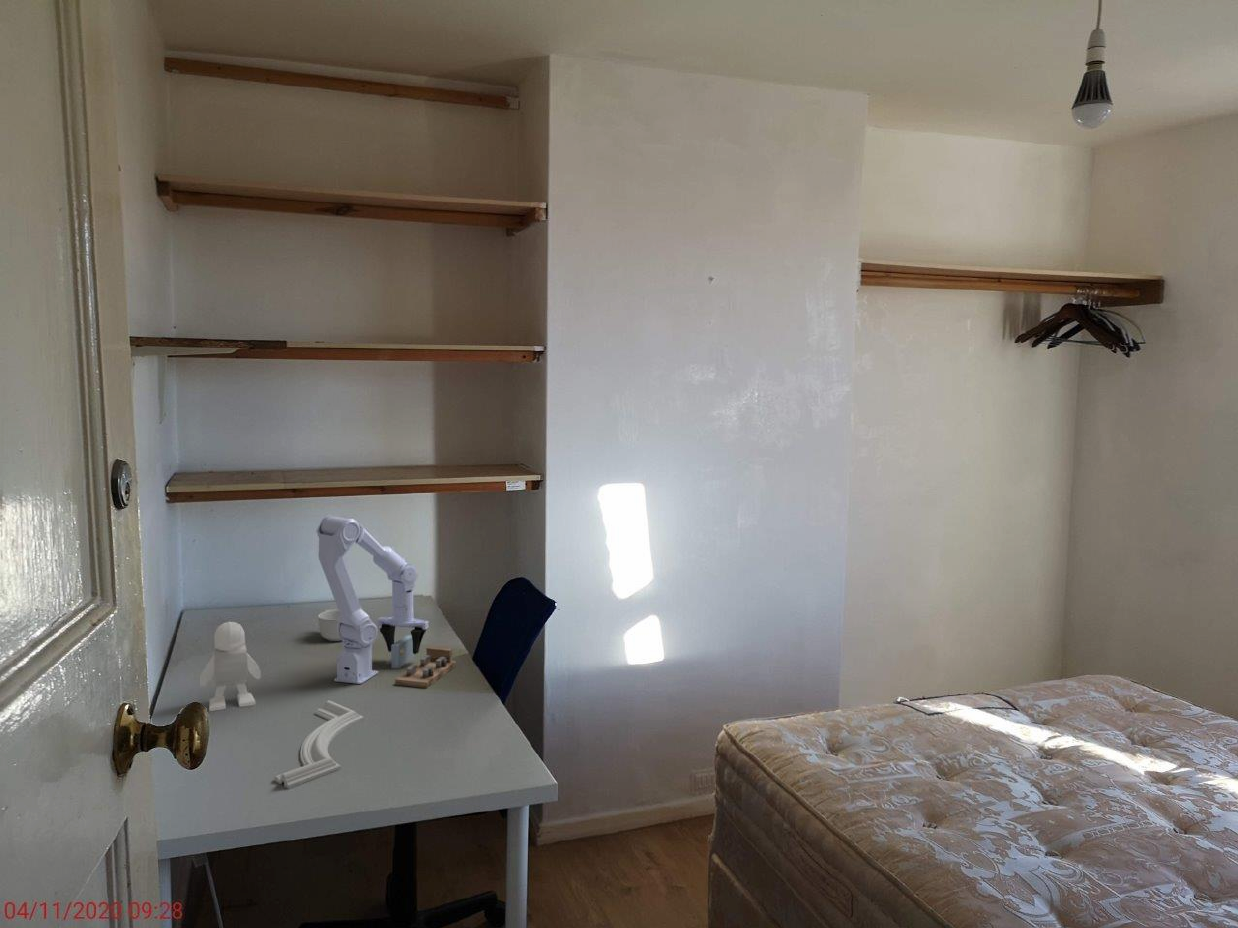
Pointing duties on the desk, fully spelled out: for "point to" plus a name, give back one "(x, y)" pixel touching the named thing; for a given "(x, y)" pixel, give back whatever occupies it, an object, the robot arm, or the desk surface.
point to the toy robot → (230, 666)
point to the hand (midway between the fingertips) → (403, 651)
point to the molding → (320, 746)
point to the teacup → (329, 624)
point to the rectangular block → (402, 652)
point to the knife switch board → (428, 668)
